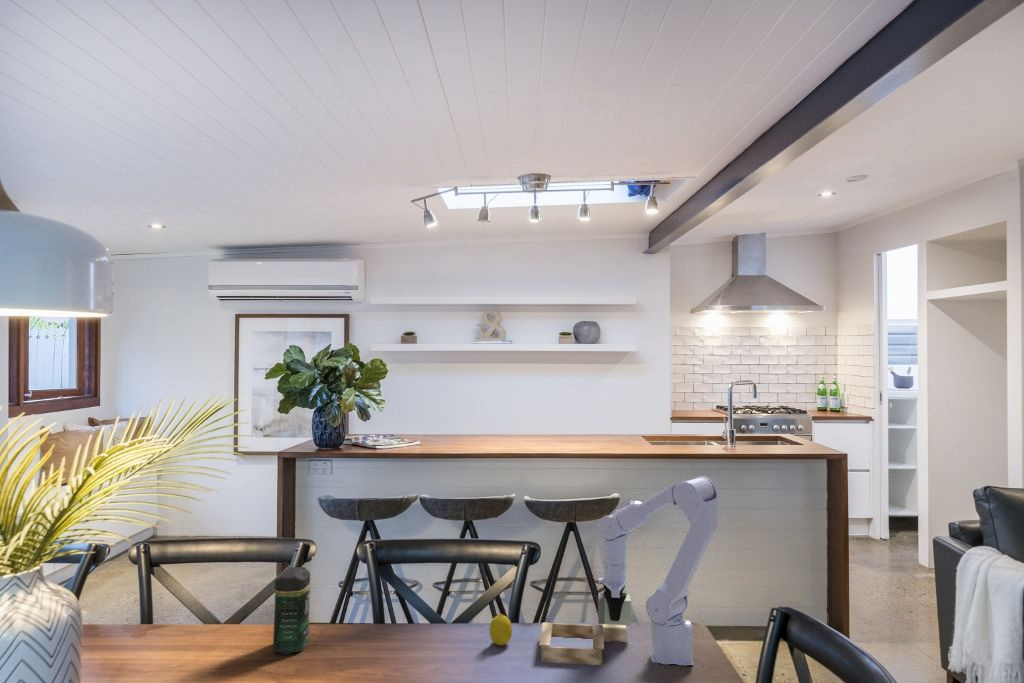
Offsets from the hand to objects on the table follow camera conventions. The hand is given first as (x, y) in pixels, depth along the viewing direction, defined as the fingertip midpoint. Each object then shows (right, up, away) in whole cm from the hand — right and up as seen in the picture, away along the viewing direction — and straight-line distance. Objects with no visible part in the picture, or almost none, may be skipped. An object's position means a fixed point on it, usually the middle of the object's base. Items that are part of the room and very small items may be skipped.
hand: (614, 616), depth 166 cm
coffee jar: (-80, -6, -5) cm, 80 cm away
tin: (0, -1, 0) cm, 1 cm away
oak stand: (0, -6, 0) cm, 6 cm away
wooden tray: (-11, -5, -8) cm, 15 cm away
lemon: (-29, -6, -5) cm, 30 cm away
